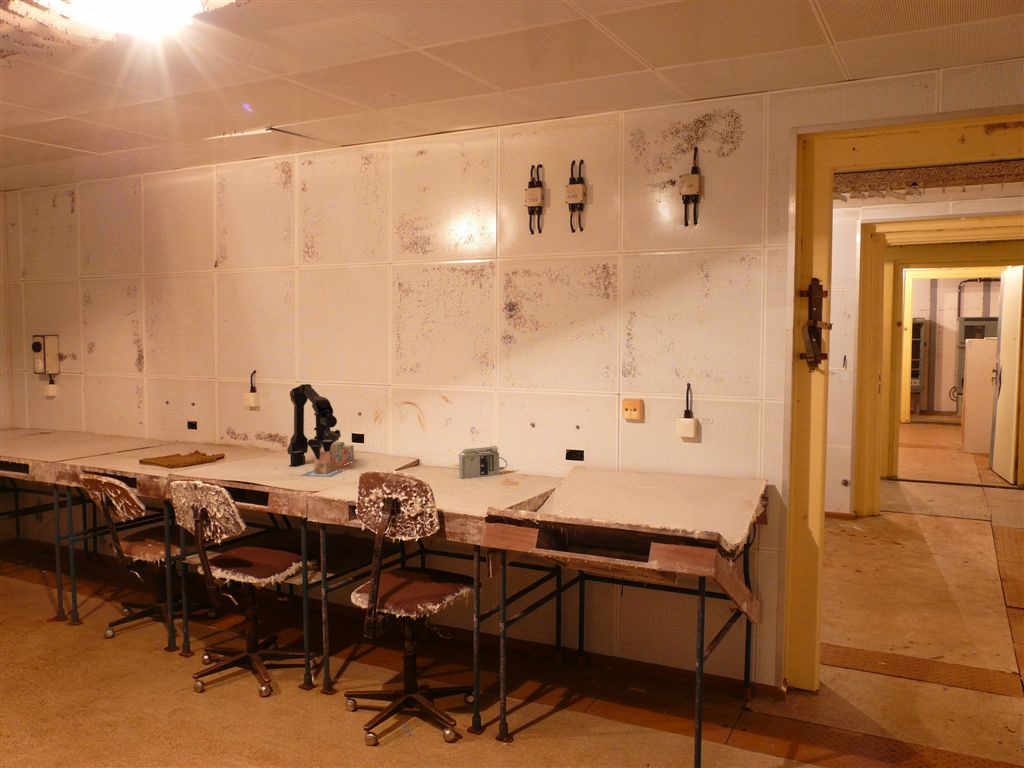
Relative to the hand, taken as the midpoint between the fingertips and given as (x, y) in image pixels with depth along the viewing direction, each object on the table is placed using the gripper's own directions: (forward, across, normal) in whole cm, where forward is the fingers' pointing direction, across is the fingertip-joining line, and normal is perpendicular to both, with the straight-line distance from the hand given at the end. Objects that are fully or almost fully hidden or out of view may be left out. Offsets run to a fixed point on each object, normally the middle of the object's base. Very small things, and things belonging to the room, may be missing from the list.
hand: (322, 457), depth 378 cm
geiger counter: (+8, +12, -76) cm, 78 cm away
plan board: (+8, 0, 0) cm, 8 cm away
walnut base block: (+7, 0, 0) cm, 7 cm away
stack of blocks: (+8, +21, +2) cm, 23 cm away
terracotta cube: (+2, 0, 0) cm, 2 cm away
